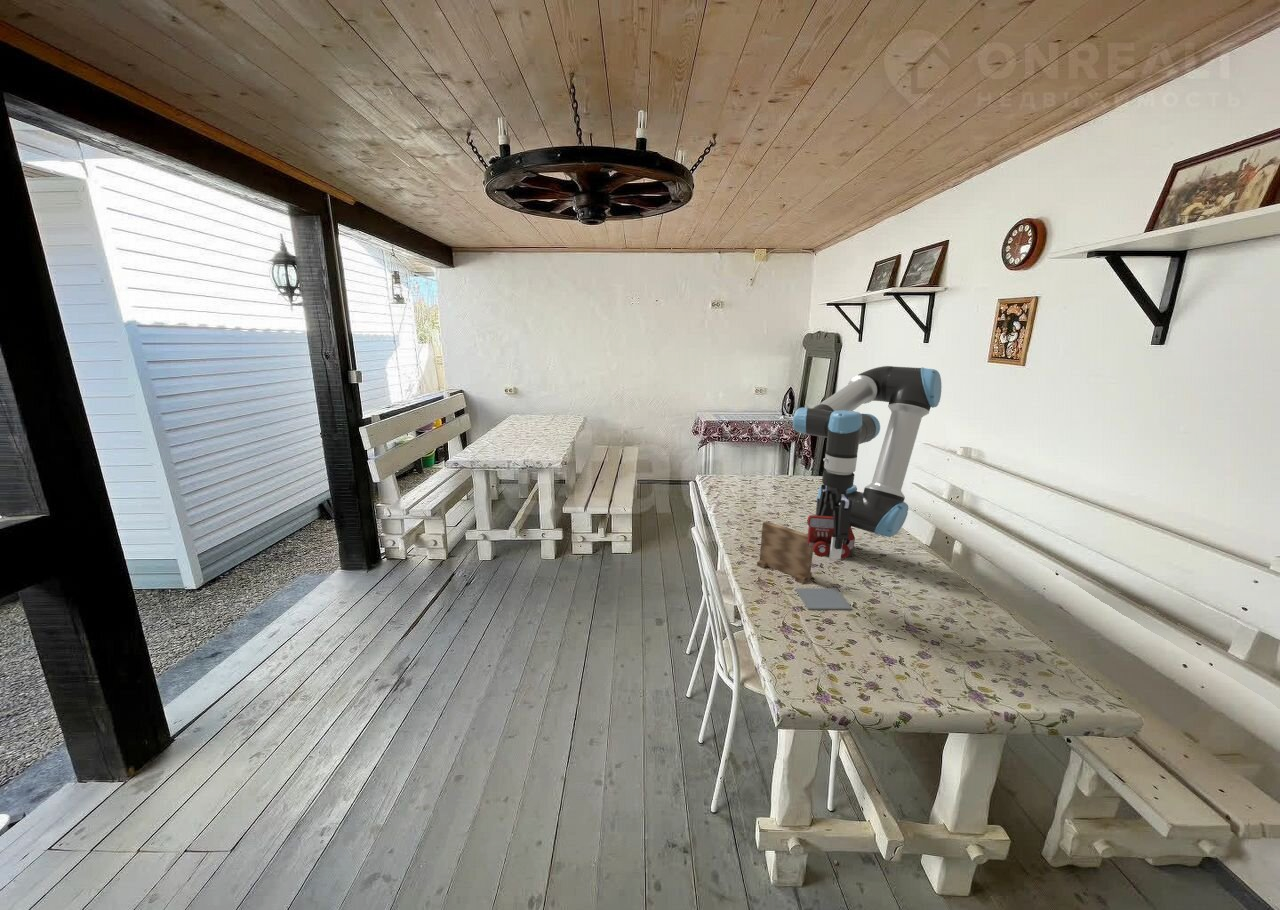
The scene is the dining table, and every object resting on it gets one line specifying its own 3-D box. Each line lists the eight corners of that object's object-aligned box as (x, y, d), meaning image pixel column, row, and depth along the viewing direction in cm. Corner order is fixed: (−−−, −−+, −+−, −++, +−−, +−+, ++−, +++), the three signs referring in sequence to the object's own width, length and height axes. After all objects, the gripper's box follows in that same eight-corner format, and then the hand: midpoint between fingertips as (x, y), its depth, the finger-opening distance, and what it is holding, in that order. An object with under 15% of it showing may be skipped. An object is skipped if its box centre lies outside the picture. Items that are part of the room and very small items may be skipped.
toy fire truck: (856, 560, 122) (861, 523, 119) (807, 556, 124) (811, 520, 121) (848, 548, 129) (853, 513, 126) (802, 545, 130) (806, 510, 128)
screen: (756, 565, 149) (759, 524, 145) (765, 558, 153) (769, 519, 149) (803, 583, 138) (808, 540, 134) (812, 576, 142) (817, 534, 138)
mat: (836, 589, 135) (836, 588, 135) (852, 609, 125) (852, 608, 125) (795, 589, 135) (795, 588, 135) (807, 609, 125) (807, 608, 125)
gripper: (810, 460, 130) (801, 535, 136) (841, 482, 110) (830, 569, 116) (836, 460, 130) (827, 535, 136) (872, 483, 110) (859, 570, 116)
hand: (828, 551), depth 126 cm, fingers closed on toy fire truck, 7 cm apart
